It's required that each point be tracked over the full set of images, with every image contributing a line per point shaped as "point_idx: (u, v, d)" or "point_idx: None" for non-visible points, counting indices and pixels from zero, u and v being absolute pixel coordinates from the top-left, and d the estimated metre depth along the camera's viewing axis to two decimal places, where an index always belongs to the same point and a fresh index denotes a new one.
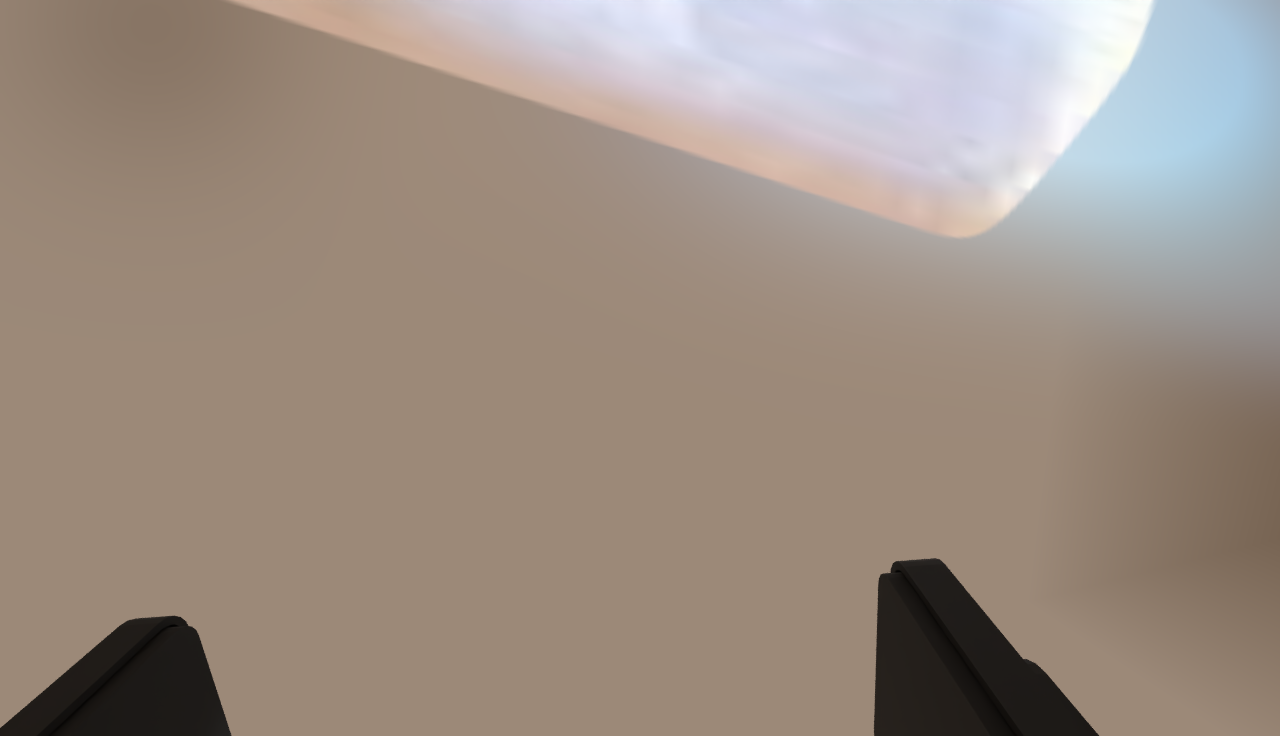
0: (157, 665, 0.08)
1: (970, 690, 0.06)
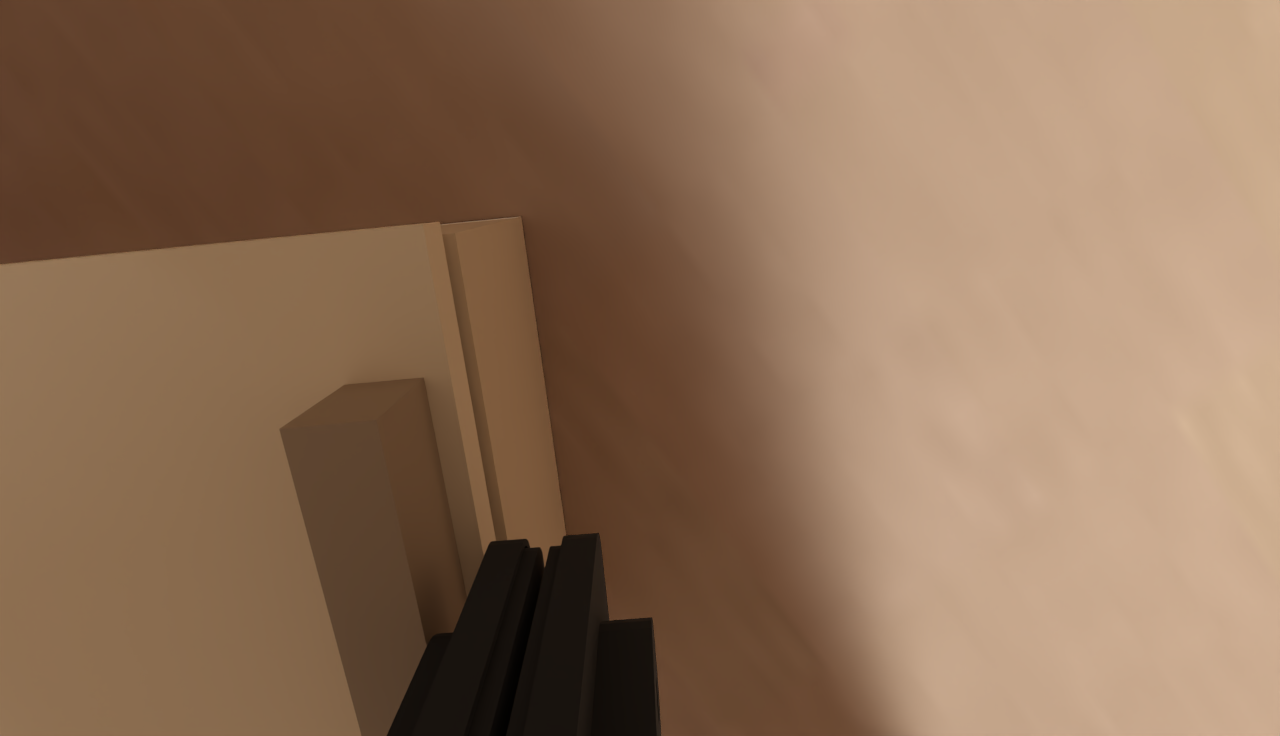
0: (534, 577, 0.09)
1: (537, 635, 0.07)
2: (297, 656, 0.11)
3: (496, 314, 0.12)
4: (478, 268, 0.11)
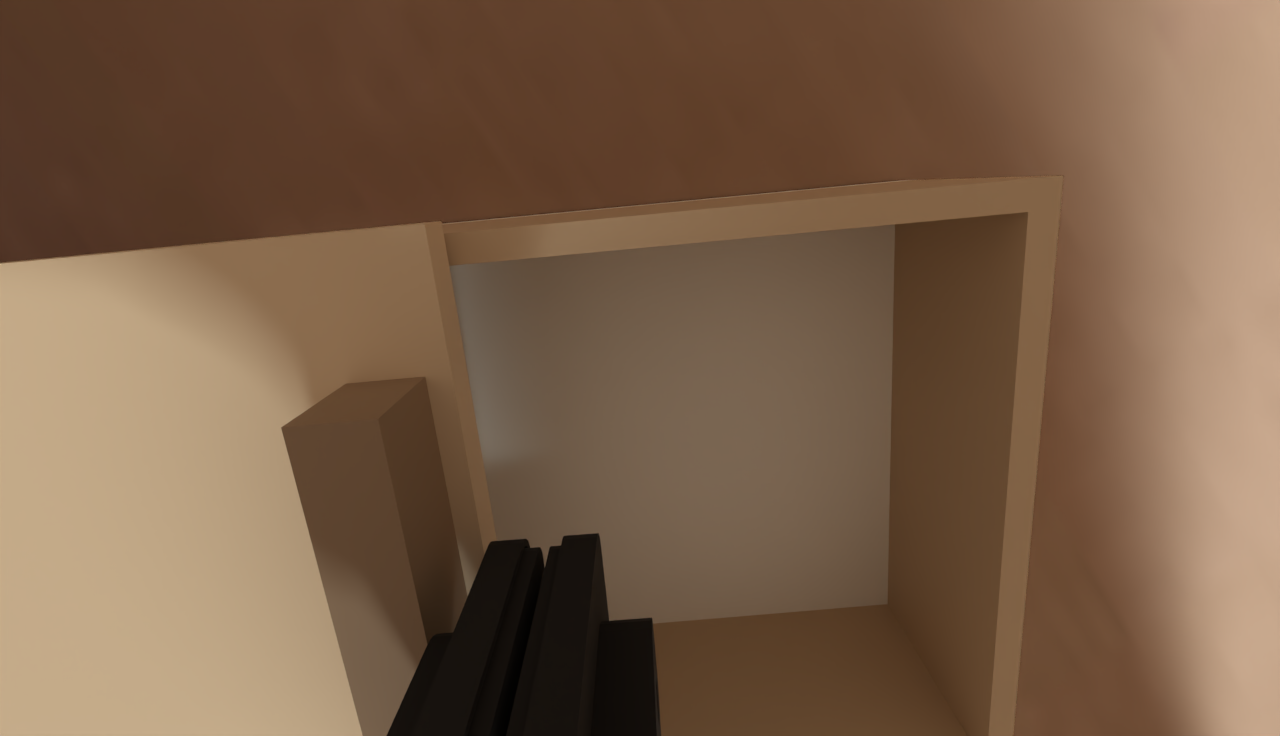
0: (534, 576, 0.09)
1: (537, 636, 0.07)
2: (298, 654, 0.11)
3: None
4: None
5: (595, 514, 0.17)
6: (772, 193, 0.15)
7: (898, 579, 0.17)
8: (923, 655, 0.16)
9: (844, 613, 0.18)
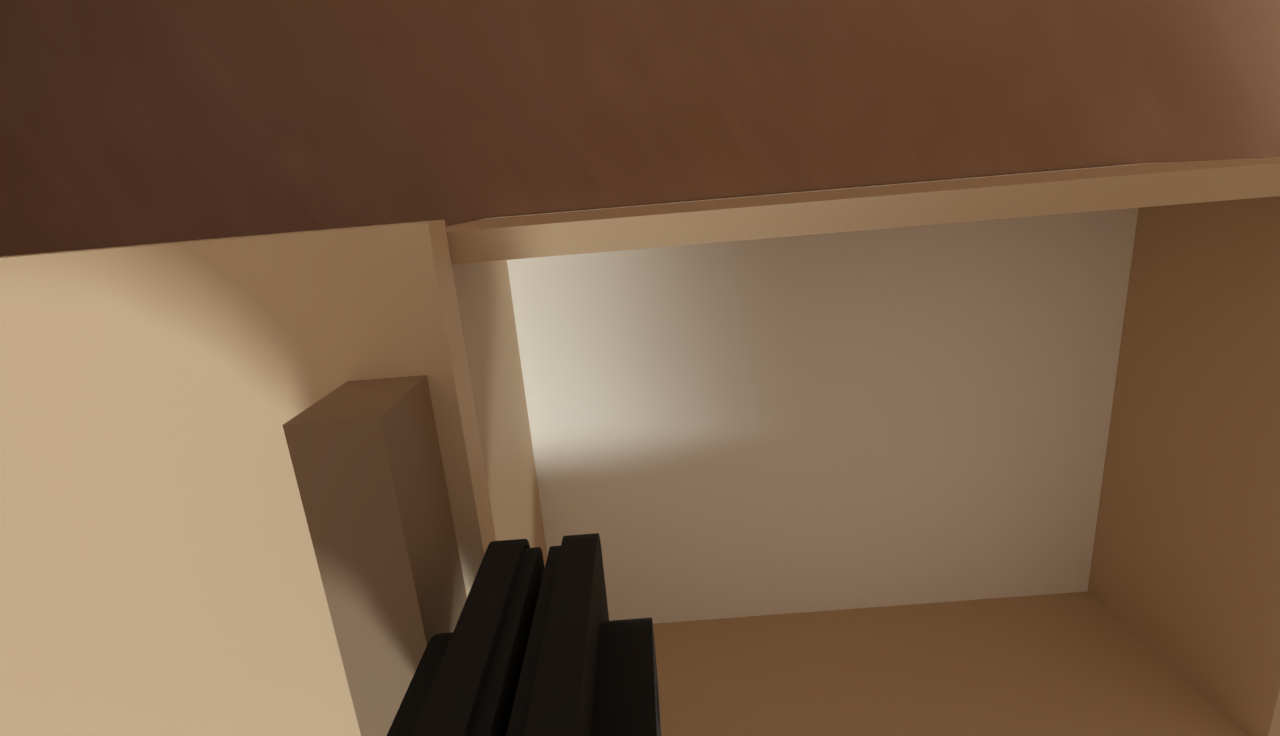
0: (534, 576, 0.09)
1: (537, 635, 0.07)
2: (296, 652, 0.11)
3: None
4: None
5: (805, 498, 0.17)
6: (1021, 174, 0.15)
7: (1111, 565, 0.17)
8: (1152, 641, 0.16)
9: (1046, 600, 0.18)
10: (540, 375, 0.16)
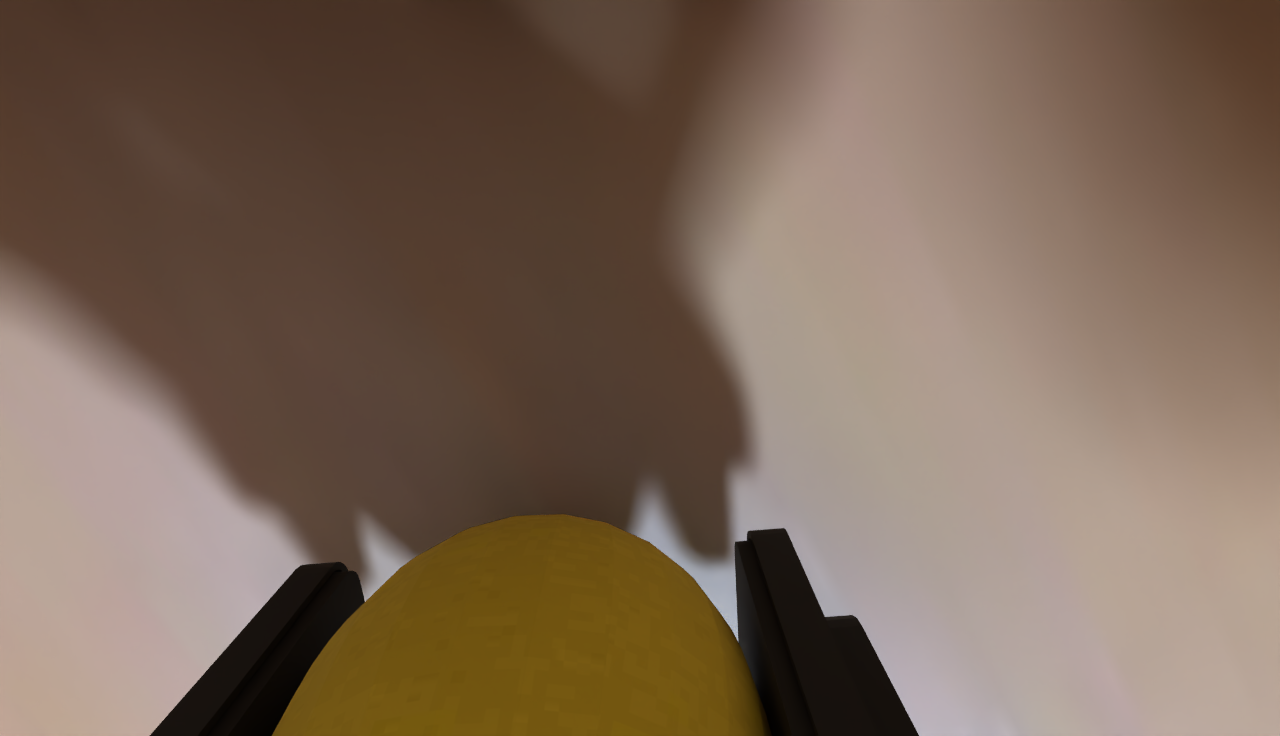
0: (335, 602, 0.09)
1: (771, 633, 0.07)
2: None
3: None
4: None
5: None
6: None
7: None
8: None
9: None
10: None
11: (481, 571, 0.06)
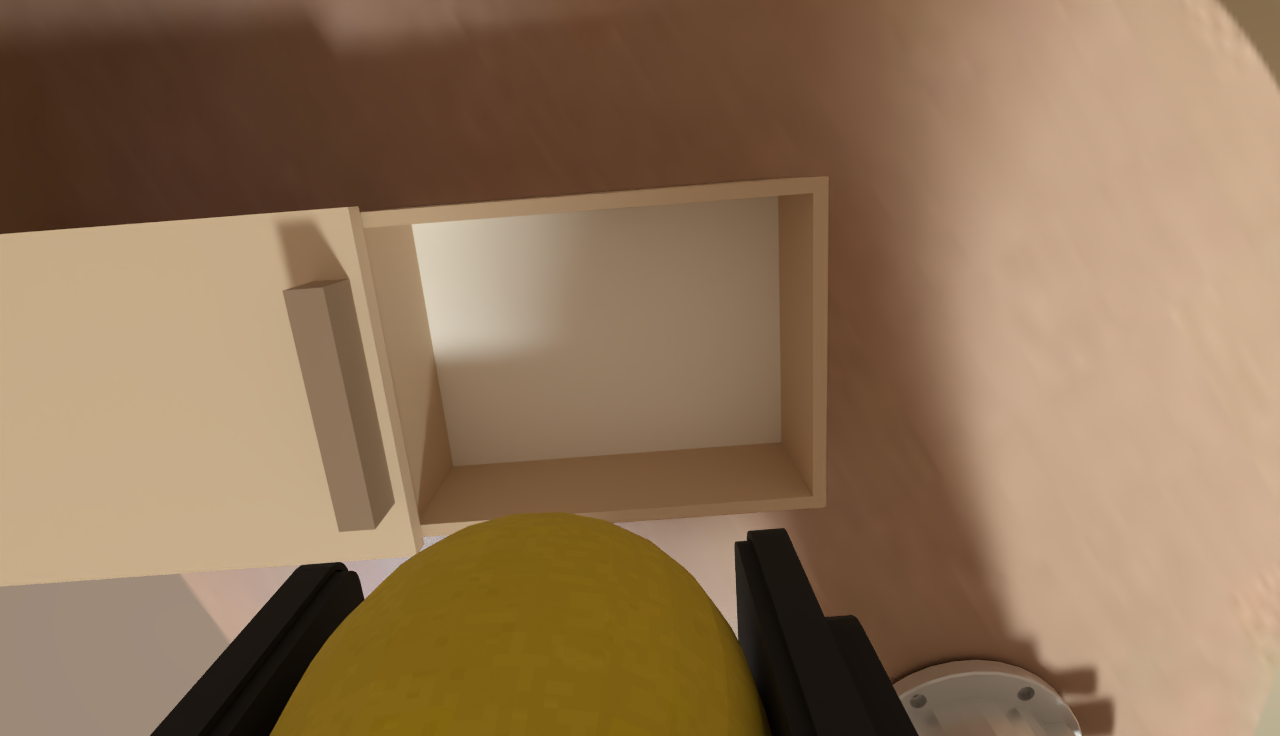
0: (335, 603, 0.09)
1: (770, 633, 0.07)
2: (288, 422, 0.22)
3: None
4: None
5: (600, 380, 0.28)
6: None
7: (784, 421, 0.28)
8: (793, 458, 0.26)
9: (753, 446, 0.28)
10: (435, 301, 0.27)
11: (479, 567, 0.06)
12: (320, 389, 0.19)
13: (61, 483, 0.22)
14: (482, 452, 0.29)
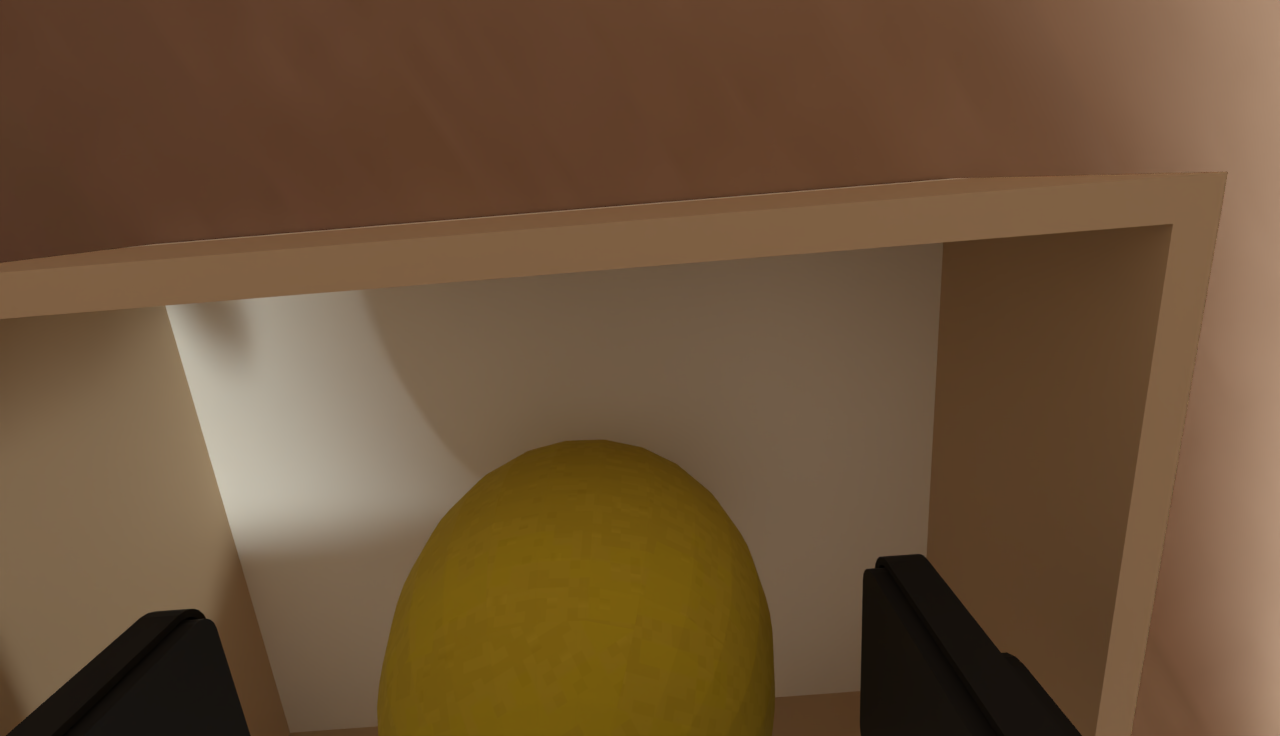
0: (177, 656, 0.08)
1: (947, 681, 0.06)
2: None
3: None
4: None
5: None
6: (792, 193, 0.12)
7: None
8: None
9: None
10: (225, 436, 0.13)
11: (555, 463, 0.09)
12: None
13: None
14: (344, 708, 0.15)
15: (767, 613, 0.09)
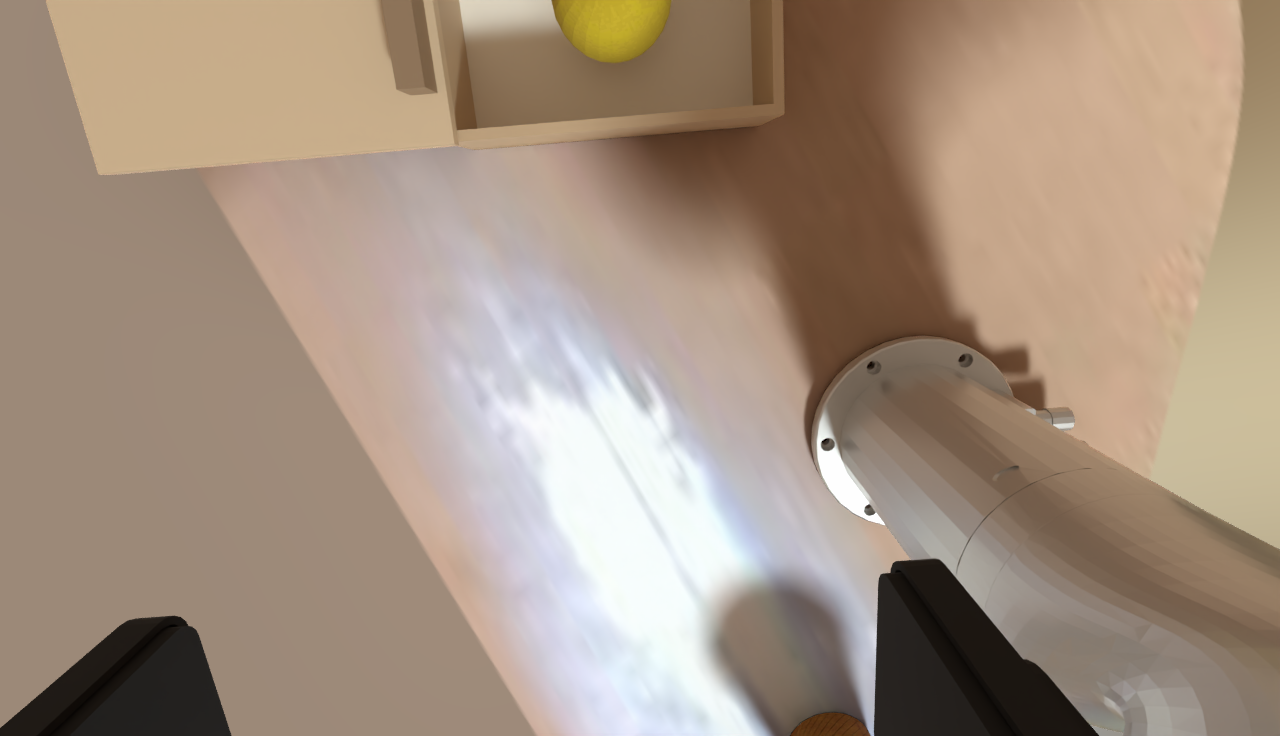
0: (157, 665, 0.08)
1: (970, 690, 0.06)
2: (354, 16, 0.27)
3: None
4: None
5: None
6: None
7: (754, 87, 0.33)
8: None
9: None
10: None
11: None
12: None
13: (172, 73, 0.28)
14: (503, 124, 0.34)
15: None
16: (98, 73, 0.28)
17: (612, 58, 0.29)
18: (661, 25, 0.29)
